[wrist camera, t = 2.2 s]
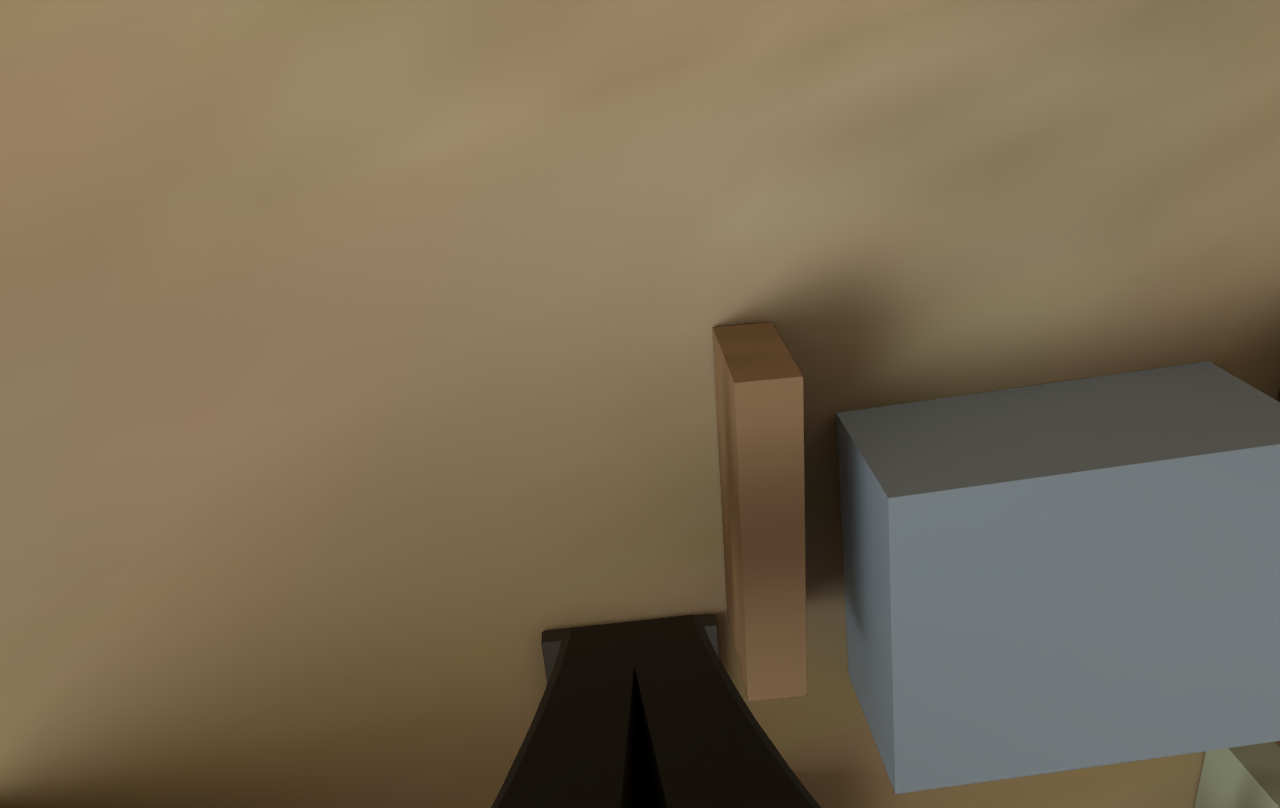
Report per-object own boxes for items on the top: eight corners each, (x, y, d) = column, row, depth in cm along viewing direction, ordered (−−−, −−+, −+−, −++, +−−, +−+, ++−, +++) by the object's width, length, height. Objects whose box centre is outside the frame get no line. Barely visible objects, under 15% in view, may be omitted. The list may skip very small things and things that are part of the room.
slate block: (1170, 622, 23) (1280, 741, 20) (845, 667, 23) (895, 794, 19) (1201, 357, 20) (1337, 435, 17) (833, 407, 20) (888, 498, 17)
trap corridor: (1368, 873, 27) (1459, 974, 24) (589, 956, 26) (590, 1069, 24) (1566, 247, 20) (1728, 288, 17) (499, 347, 19) (486, 406, 16)
